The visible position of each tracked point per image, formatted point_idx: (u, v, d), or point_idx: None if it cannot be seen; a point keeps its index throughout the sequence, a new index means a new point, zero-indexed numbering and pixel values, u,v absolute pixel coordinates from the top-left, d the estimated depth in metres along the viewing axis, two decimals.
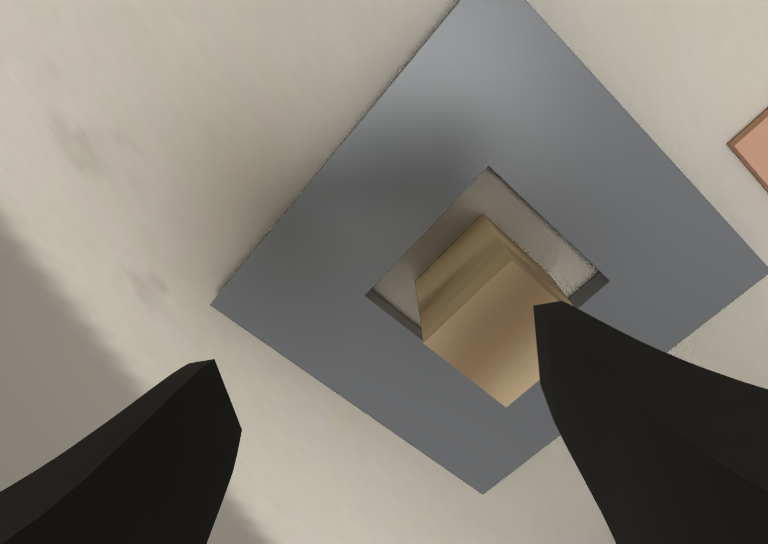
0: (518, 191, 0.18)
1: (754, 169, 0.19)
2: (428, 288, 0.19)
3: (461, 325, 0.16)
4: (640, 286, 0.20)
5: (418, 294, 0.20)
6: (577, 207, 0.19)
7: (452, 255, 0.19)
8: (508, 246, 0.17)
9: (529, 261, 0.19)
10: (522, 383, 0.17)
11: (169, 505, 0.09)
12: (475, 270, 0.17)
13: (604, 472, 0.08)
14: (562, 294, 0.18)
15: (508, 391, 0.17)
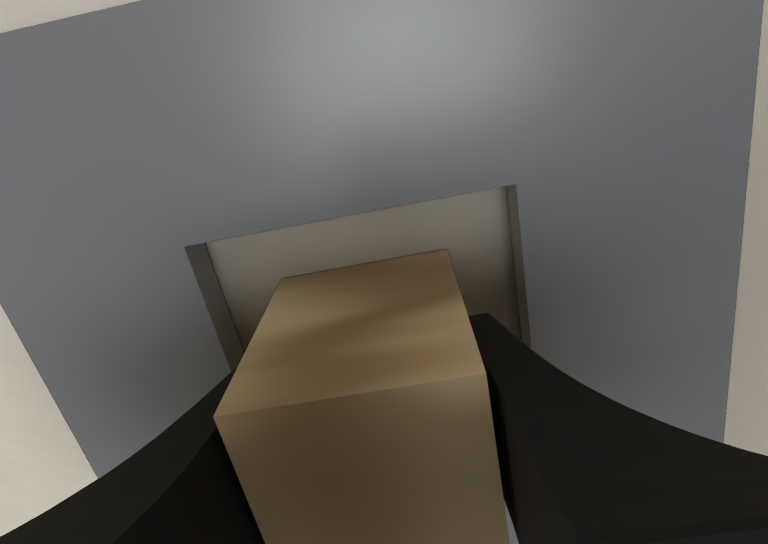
0: (252, 230, 0.10)
1: None
2: None
3: (292, 539, 0.08)
4: (571, 139, 0.10)
5: None
6: (341, 160, 0.10)
7: None
8: (282, 333, 0.09)
9: (365, 294, 0.10)
10: (486, 524, 0.08)
11: None
12: None
13: (508, 485, 0.08)
14: (439, 302, 0.09)
15: None
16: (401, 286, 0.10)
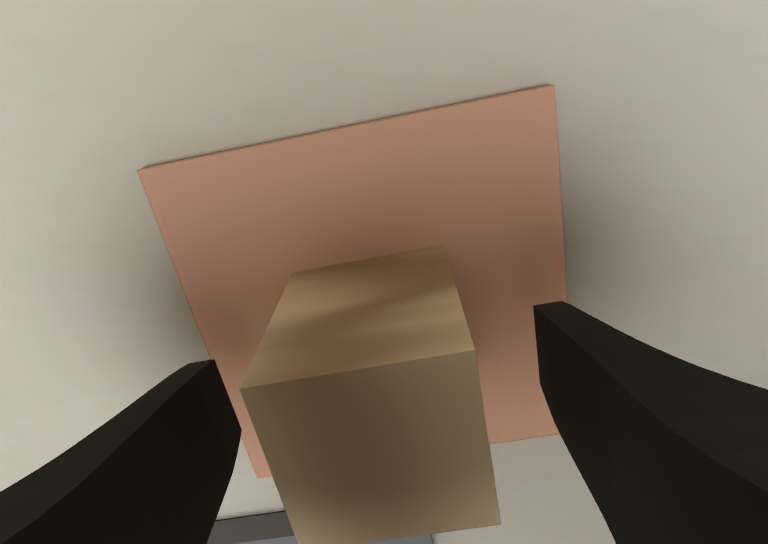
0: None
1: None
2: None
3: (306, 499, 0.09)
4: None
5: None
6: None
7: None
8: (296, 319, 0.10)
9: (369, 285, 0.11)
10: (477, 485, 0.09)
11: (169, 505, 0.09)
12: None
13: (604, 472, 0.08)
14: (435, 292, 0.10)
15: (474, 508, 0.09)
16: (402, 278, 0.11)
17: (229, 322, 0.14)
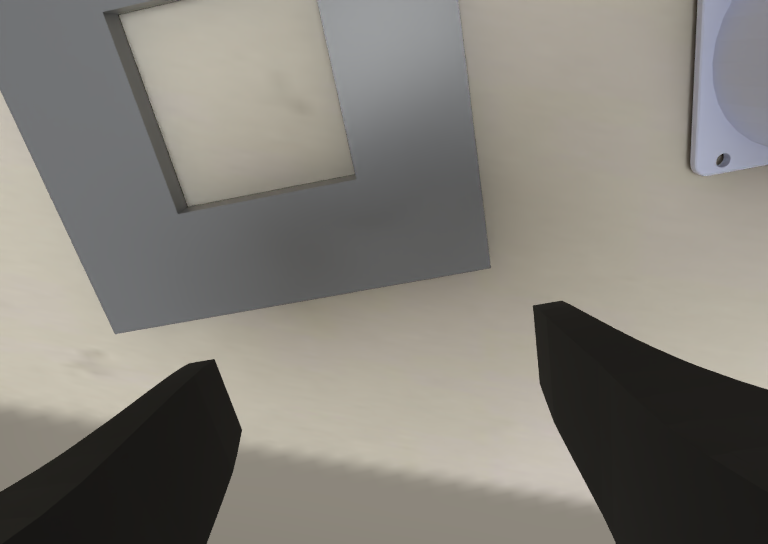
0: None
1: None
2: None
3: None
4: None
5: None
6: None
7: None
8: None
9: None
10: None
11: (169, 505, 0.09)
12: None
13: (604, 472, 0.08)
14: None
15: None
16: None
17: None
